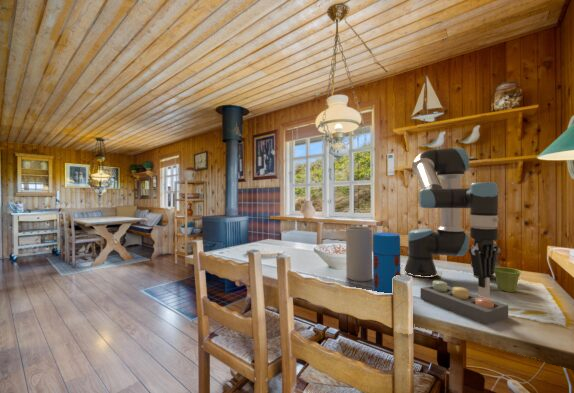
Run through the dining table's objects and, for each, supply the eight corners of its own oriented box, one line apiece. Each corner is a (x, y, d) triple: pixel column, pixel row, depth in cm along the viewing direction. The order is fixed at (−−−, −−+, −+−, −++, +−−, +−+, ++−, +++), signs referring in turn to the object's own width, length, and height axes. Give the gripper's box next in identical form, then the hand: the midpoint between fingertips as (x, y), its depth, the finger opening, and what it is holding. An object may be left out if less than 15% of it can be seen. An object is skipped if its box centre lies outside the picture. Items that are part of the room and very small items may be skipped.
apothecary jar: (480, 280, 124) (479, 243, 124) (465, 273, 136) (465, 239, 136) (507, 281, 122) (507, 243, 122) (490, 273, 134) (490, 239, 134)
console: (420, 297, 104) (420, 288, 104) (440, 293, 109) (440, 283, 109) (487, 324, 82) (487, 312, 82) (508, 317, 87) (508, 305, 87)
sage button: (429, 291, 104) (429, 281, 104) (438, 289, 106) (438, 279, 106) (441, 295, 99) (441, 285, 99) (450, 293, 101) (450, 283, 101)
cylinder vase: (361, 273, 138) (361, 226, 138) (377, 280, 126) (377, 229, 126) (341, 275, 134) (341, 227, 134) (356, 283, 122) (355, 230, 122)
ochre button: (449, 298, 97) (449, 288, 97) (457, 296, 99) (457, 286, 99) (463, 303, 92) (463, 292, 92) (471, 301, 94) (471, 290, 94)
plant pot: (527, 294, 106) (526, 273, 106) (500, 293, 108) (500, 272, 108) (512, 286, 115) (511, 267, 115) (488, 285, 117) (488, 266, 117)
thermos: (368, 290, 113) (367, 233, 113) (387, 286, 117) (386, 231, 117) (386, 299, 103) (385, 236, 103) (406, 295, 107) (405, 235, 107)
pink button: (472, 310, 89) (472, 299, 89) (480, 307, 91) (480, 296, 91) (488, 316, 85) (488, 304, 85) (497, 313, 87) (497, 301, 87)
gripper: (484, 230, 82) (484, 303, 82) (507, 227, 87) (507, 296, 88) (460, 227, 89) (460, 295, 89) (482, 224, 94) (483, 288, 95)
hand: (483, 295), depth 89 cm, fingers closed
